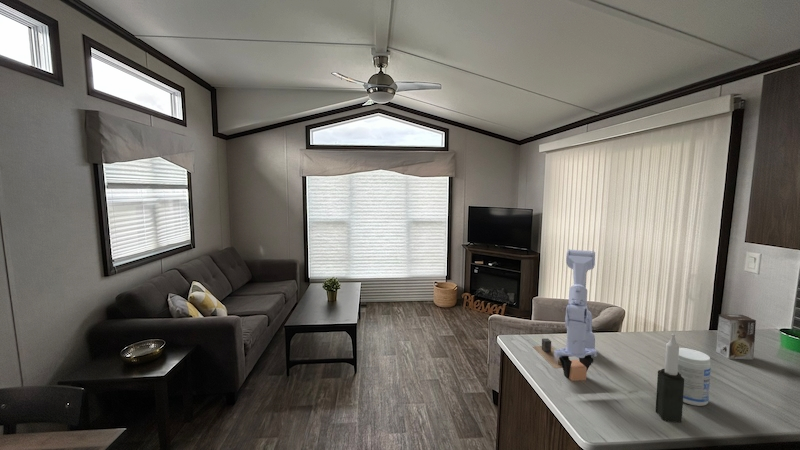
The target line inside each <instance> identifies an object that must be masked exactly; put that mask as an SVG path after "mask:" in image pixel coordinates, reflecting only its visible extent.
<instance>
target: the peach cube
mask: <svg viewBox="0 0 800 450" xmlns="http://www.w3.org/2000/svg"><path fill="white" fill-rule="evenodd" d="M569 360H570V361H572V364H571V367H570V376H569V378H568V379H569V380H570V381H572V382H573V381H587V372H588V370H587V367H586V366H584V365H583V364H582V363H581V362H580V361H579V359H574V360H573V359H572V360H571V359H569ZM562 371H563V370H562ZM563 374H564V371H563Z"/></svg>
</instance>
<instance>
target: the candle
mask: <svg viewBox="0 0 800 450" xmlns="http://www.w3.org/2000/svg"><path fill="white" fill-rule="evenodd" d="M679 348H680V345H679V344H678V343H677V340H676V335H675V334H674V333H671V338H670V339H669V341H668V342H667V343H666V344H665V361H664V368H662V369H660V370H659V369H658V371H657V382H656V397H655V413H657V415H658V416H659V418H660V419H661V420H662V421H665V422H670V423H672V422H673V423H682V420H683V408H684V407H683V404H684V402H683V393H684V378H683V377H682V376H681V374H679V372H678V359H679Z"/></svg>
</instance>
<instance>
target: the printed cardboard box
mask: <svg viewBox="0 0 800 450" xmlns="http://www.w3.org/2000/svg"><path fill="white" fill-rule="evenodd" d="M717 324H718V325H717V335H716V336H717V337H716V350H715V351H716V353H717V354H719V355H721V356H723V357H724V358H726V359H727V360H754V355H755V340H756V327H757V326H756V325H757V320H756V319H753V318H752V317H749V316H747V315H744V314H729V313H728V314H726V313H725V314H723V313H722V314H718V320H717Z"/></svg>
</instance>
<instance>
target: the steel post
mask: <svg viewBox="0 0 800 450" xmlns="http://www.w3.org/2000/svg"><path fill="white" fill-rule="evenodd" d="M557 350H560V349H559V348H558V349H557ZM554 361H555V362H556V363H557V364H561V362H560V360H559V358H556V357H555V356H554Z"/></svg>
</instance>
